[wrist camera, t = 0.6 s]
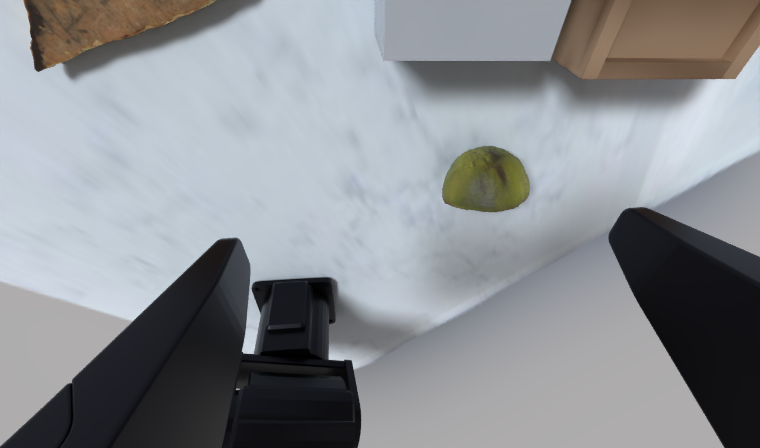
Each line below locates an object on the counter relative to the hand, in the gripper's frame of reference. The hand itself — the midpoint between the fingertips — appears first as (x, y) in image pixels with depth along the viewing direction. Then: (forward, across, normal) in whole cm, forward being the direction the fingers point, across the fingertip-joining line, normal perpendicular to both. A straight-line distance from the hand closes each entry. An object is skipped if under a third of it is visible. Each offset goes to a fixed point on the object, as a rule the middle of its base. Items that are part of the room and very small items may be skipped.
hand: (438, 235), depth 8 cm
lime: (+13, -6, +6) cm, 16 cm away
